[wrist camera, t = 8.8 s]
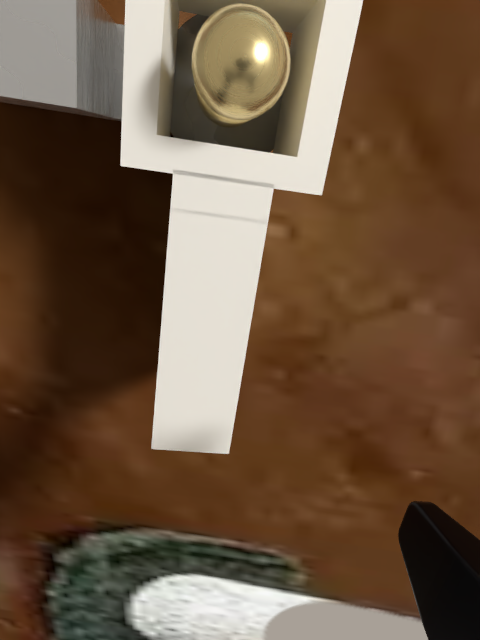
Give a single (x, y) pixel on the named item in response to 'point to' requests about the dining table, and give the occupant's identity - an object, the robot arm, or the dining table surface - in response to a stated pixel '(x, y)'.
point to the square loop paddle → (223, 200)
